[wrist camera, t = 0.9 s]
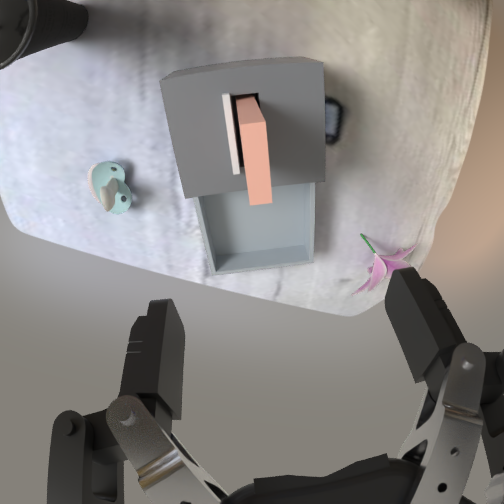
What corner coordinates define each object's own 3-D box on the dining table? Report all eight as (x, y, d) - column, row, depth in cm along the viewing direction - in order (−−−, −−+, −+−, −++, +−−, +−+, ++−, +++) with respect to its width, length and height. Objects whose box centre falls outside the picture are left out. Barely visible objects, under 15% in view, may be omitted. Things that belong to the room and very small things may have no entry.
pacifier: (100, 208, 39) (138, 202, 38) (83, 236, 34) (125, 229, 34) (83, 162, 34) (122, 151, 34) (61, 184, 29) (104, 173, 29)
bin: (307, 163, 37) (315, 177, 34) (307, 244, 45) (313, 262, 42) (194, 177, 37) (191, 192, 34) (212, 256, 45) (212, 275, 42)
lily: (329, 271, 51) (361, 317, 46) (333, 238, 40) (376, 295, 36) (382, 236, 52) (415, 278, 47) (396, 198, 41) (439, 247, 37)
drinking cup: (112, 19, 23) (-3, 20, 8) (65, 64, 25) (-56, 114, 10) (79, -19, 19) (-41, -34, 3) (34, 27, 21) (-91, 56, 6)
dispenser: (302, 56, 28) (325, 63, 22) (306, 152, 36) (327, 185, 29) (174, 71, 28) (157, 82, 22) (192, 166, 36) (184, 202, 29)
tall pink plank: (250, 89, 28) (265, 121, 18) (256, 142, 32) (272, 202, 22) (234, 91, 28) (239, 124, 18) (241, 144, 32) (250, 205, 22)
